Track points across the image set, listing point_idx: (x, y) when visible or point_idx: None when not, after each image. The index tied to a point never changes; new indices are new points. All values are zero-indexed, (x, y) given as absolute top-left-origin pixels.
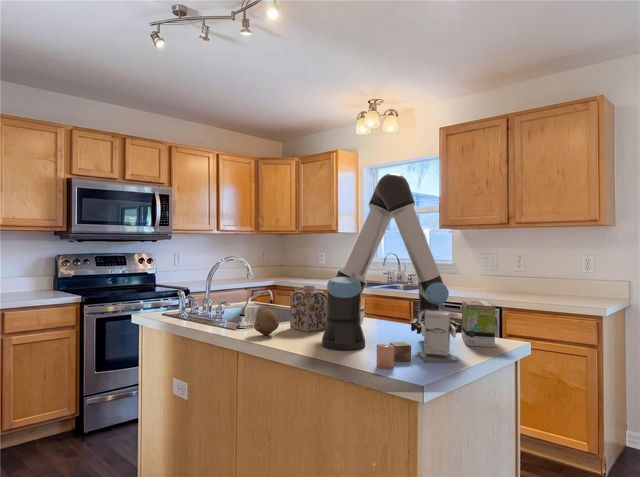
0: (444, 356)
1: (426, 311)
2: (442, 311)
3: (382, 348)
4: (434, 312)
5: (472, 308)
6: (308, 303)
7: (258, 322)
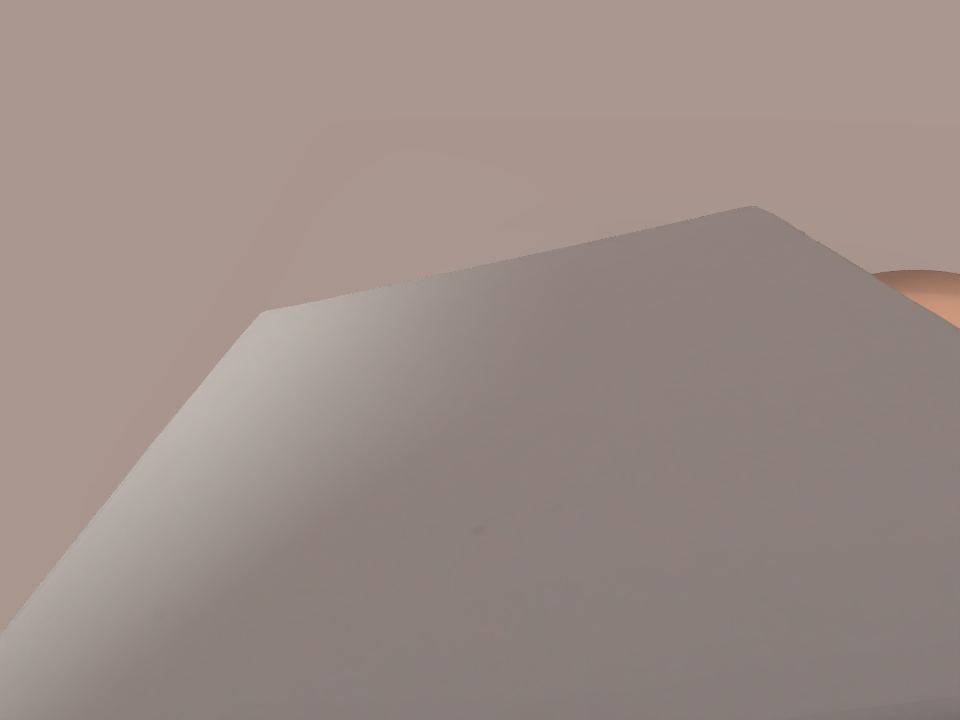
0: None
1: (922, 307)
2: (283, 661)
3: (881, 278)
4: (572, 295)
5: None
6: None
7: None
